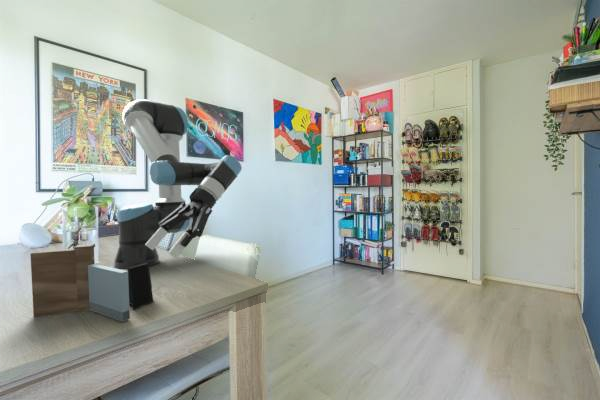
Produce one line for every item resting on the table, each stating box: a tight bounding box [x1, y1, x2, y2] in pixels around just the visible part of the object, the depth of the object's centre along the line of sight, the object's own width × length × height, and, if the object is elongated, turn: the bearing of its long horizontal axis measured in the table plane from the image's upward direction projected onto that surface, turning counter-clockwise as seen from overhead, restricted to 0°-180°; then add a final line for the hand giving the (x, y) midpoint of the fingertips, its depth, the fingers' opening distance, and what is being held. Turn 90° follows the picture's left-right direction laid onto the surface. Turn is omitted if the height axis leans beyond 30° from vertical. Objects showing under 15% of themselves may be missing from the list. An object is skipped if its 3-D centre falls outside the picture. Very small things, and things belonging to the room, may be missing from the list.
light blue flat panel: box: [88, 263, 131, 323], centre depth 65 cm, size 13×2×11 cm, turn 63°
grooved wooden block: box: [30, 243, 96, 318], centre depth 68 cm, size 3×12×16 cm, turn 113°
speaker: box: [127, 263, 154, 311], centre depth 73 cm, size 8×6×10 cm
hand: (159, 251), depth 76 cm, fingers open, 13 cm apart
